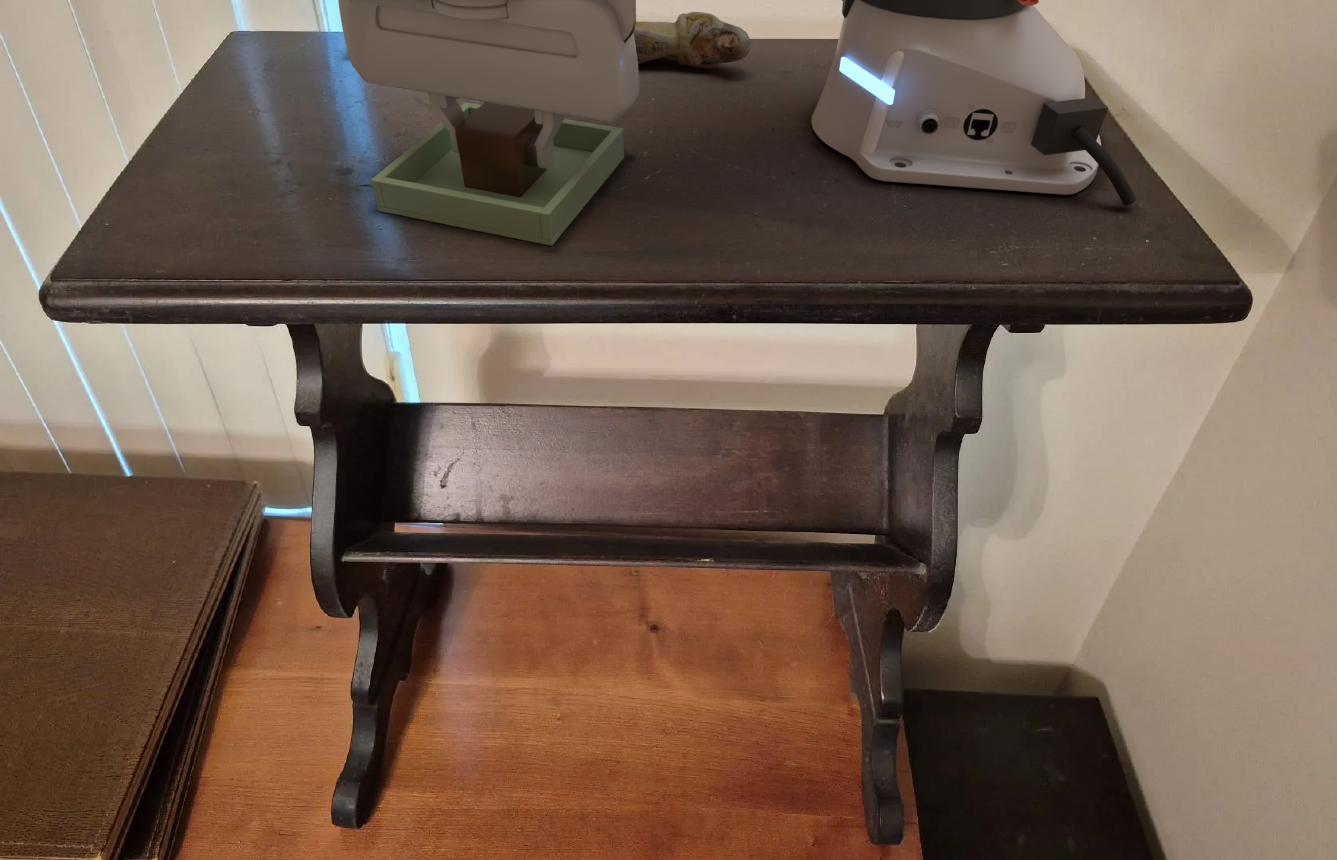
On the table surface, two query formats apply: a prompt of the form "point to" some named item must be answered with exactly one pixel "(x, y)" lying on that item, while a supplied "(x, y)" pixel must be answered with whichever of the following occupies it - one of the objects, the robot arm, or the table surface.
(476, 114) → the block
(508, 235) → the tray
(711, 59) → the figurine
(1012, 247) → the table surface
